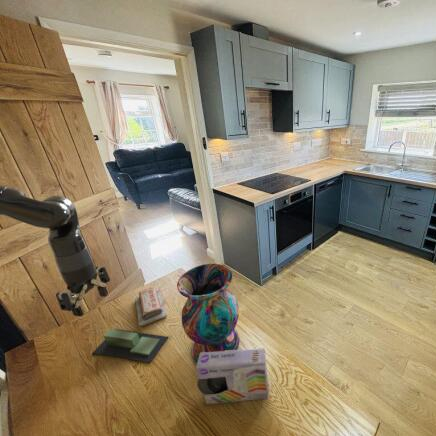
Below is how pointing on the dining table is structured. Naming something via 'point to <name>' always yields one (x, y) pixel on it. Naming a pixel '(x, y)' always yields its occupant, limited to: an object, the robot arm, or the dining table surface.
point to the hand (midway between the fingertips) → (92, 305)
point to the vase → (209, 309)
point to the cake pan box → (232, 375)
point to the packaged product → (149, 306)
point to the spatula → (131, 341)
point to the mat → (125, 352)
